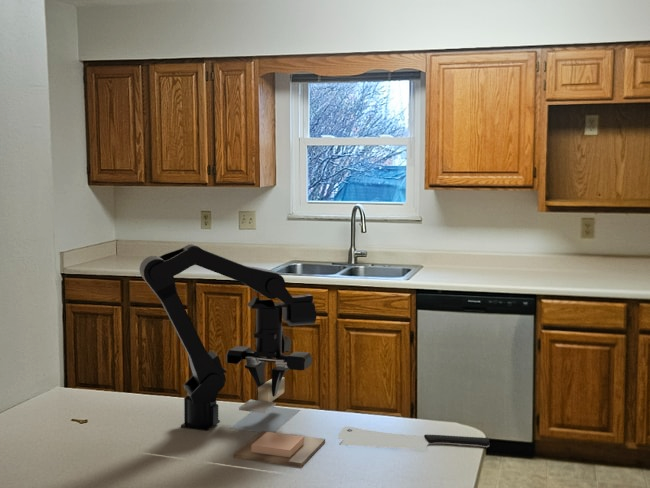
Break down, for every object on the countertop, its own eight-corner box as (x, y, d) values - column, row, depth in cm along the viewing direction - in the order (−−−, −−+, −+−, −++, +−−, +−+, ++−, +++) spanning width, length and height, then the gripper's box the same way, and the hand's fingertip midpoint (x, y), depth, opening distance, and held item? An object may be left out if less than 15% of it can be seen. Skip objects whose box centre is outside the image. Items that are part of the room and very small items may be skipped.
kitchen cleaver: (333, 444, 159) (341, 422, 168) (333, 452, 159) (341, 430, 169) (490, 456, 153) (489, 433, 163) (490, 464, 154) (488, 440, 163)
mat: (229, 429, 168) (229, 427, 168) (260, 406, 184) (260, 405, 184) (272, 434, 165) (272, 433, 165) (300, 411, 181) (300, 409, 181)
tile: (267, 439, 160) (251, 452, 152) (267, 431, 159) (251, 444, 152) (304, 444, 157) (289, 458, 149) (304, 436, 157) (289, 450, 149)
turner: (238, 410, 168) (239, 394, 167) (267, 390, 183) (267, 375, 182) (264, 413, 166) (265, 397, 165) (291, 392, 181) (291, 378, 181)
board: (233, 458, 152) (233, 453, 151) (262, 435, 165) (262, 430, 165) (301, 468, 147) (301, 463, 147) (325, 443, 160) (325, 438, 160)
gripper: (320, 323, 179) (319, 390, 180) (245, 317, 184) (245, 382, 186) (303, 333, 168) (303, 403, 170) (225, 326, 174) (224, 394, 175)
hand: (268, 395), depth 175 cm, fingers closed on turner, 2 cm apart
